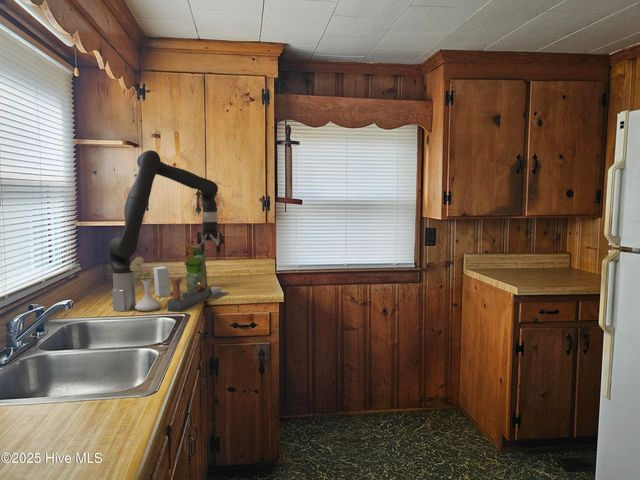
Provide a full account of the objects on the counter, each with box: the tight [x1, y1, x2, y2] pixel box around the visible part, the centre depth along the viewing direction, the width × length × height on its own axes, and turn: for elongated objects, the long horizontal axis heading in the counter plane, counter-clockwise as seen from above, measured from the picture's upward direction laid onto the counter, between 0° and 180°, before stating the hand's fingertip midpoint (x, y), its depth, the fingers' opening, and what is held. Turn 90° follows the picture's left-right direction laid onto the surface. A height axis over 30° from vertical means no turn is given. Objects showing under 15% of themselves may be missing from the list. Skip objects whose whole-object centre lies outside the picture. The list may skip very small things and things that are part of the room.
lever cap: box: [207, 286, 223, 297], centre depth 247 cm, size 10×5×4 cm, turn 164°
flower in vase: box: [130, 256, 162, 312], centre depth 217 cm, size 13×11×25 cm
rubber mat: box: [209, 291, 229, 300], centre depth 247 cm, size 12×12×1 cm
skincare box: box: [152, 265, 171, 298], centre depth 248 cm, size 8×6×15 cm
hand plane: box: [167, 277, 210, 313], centre depth 227 cm, size 26×6×14 cm, turn 164°
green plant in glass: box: [184, 244, 208, 291], centre depth 261 cm, size 11×12×25 cm
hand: (210, 252), depth 245 cm, fingers open, 8 cm apart
